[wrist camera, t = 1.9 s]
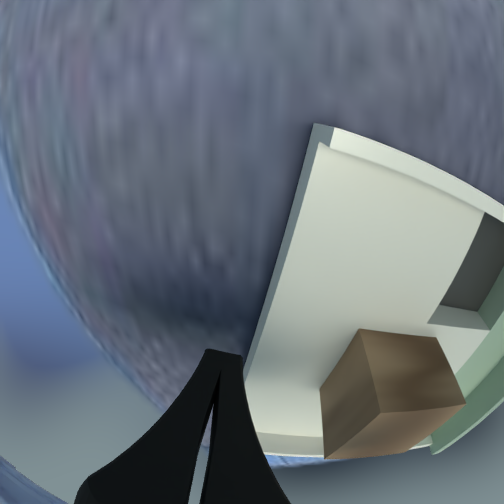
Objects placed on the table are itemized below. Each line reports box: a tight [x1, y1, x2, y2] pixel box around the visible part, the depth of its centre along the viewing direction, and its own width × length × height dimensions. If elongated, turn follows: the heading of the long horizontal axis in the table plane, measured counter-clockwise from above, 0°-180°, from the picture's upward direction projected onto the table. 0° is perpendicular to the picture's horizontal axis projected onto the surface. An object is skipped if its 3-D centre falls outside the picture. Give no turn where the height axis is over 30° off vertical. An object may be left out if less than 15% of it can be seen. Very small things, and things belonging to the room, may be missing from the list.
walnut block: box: [319, 328, 466, 459], centre depth 10 cm, size 4×4×4 cm
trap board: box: [243, 123, 504, 457], centre depth 11 cm, size 18×18×4 cm
